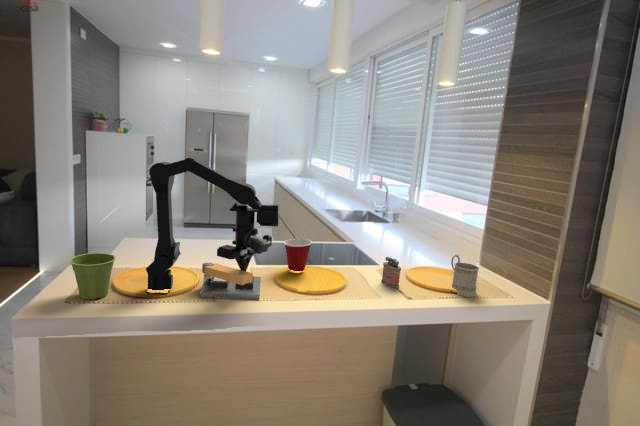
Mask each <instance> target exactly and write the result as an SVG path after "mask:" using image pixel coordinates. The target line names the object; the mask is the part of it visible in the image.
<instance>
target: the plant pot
mask: <svg viewBox="0 0 640 426" xmlns="http://www.w3.org/2000/svg"><path fill="white" fill-rule="evenodd" d="M116 259H117V257H116V255H114V254H111V253H107V252H106V253H105V252H90V253H82V254H78V255H75V256H72V257H71V258H70V259H69V260H68V263H69V264H71V266H72V267H71V268H72V271H74V276H75V280H76V281H75V282H76V285H77V289H78V294H79V297H80V298H81V299H83V300H90V301H92V300H93V301H94V300H96V299H103V298H105V297H106V296H107V295H108V294H109V289H110V281H111V276H112V272H113V271H112V270H113V267H114V262H115V261H116Z"/></svg>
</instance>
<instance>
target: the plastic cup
mask: <svg viewBox="0 0 640 426" xmlns="http://www.w3.org/2000/svg"><path fill="white" fill-rule="evenodd" d="M312 243H313V241H312V240H310V239H307V238H290V239H286V240H284V241H283V245H284V247H285V252H286V260H287V261H286V262H287V267H288V268H289V269H290V270H293V271H303V270H304V271H305V270H306V269H305V268H306V264H307V262H308V257H309V253H310V248H311V245H312ZM288 268H287V269H288Z"/></svg>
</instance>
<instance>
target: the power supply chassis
mask: <svg viewBox="0 0 640 426" xmlns="http://www.w3.org/2000/svg"><path fill="white" fill-rule="evenodd" d="M261 279H262V277H261V276H254V275H253V280H252V281H251V282H249V283H246V284H244V285H240V284H236V283H233V282H230V281H226V280H223V279H219V278H216V277H212V276H209V275H205V273H203V285H202V286H201V290H200V292H199V298H200V297H215V298H214V299H229V300H230V299H234V300H235V299H237V300H238V299H239V300H260V297H261V296H260V295H261Z"/></svg>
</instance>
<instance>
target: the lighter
mask: <svg viewBox="0 0 640 426" xmlns="http://www.w3.org/2000/svg"><path fill="white" fill-rule="evenodd" d="M385 261H386V262H385ZM385 261H384V262H383V263H382V265H383V266H382V267H383V268H382V277H381V280H380V281H381V282H380V283H382V284H383V285H385V286H387V287H389V288H392V289H395V290H396V289H397V288H398V289H399V288H400V278H401V271H402V267H401V266H399V264H400V261H399V260H397V258H392V257H390V256H386V257H385Z"/></svg>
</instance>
